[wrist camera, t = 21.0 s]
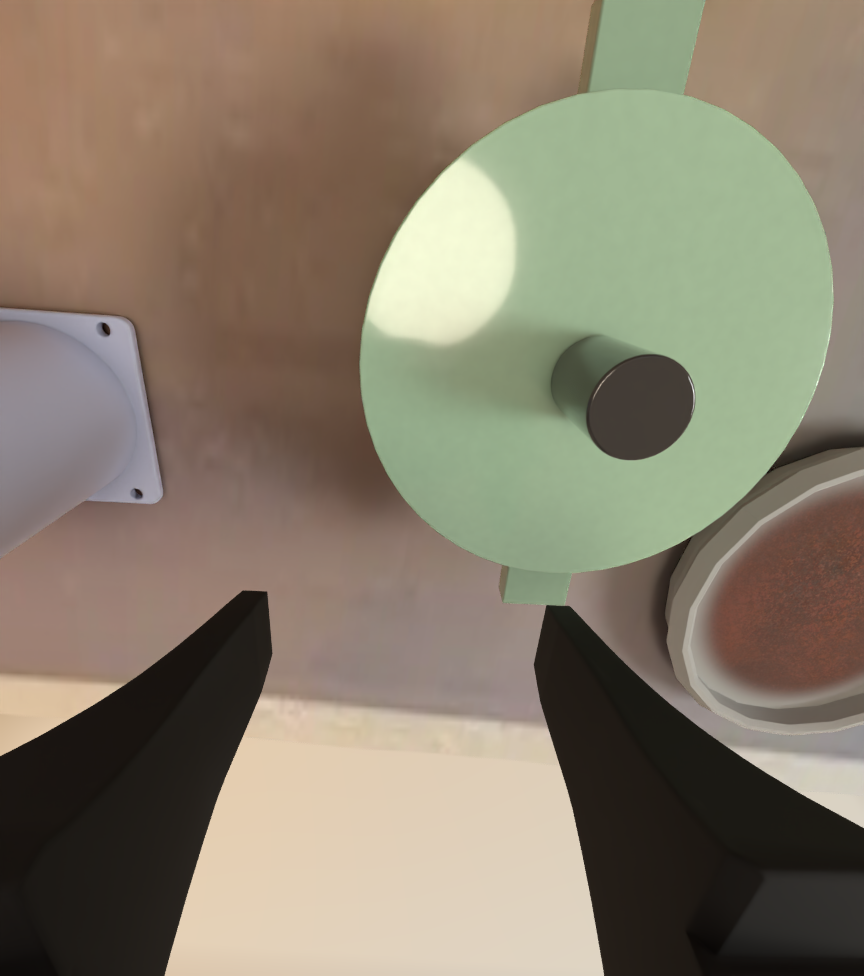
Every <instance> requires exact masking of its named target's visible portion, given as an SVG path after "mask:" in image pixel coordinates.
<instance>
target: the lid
mask: <svg viewBox="0 0 864 976" xmlns="http://www.w3.org/2000/svg"><path fill="white" fill-rule="evenodd" d="M833 303H834V297H833V275H832V265H831V259H830V254H829V249H828V244H827V238H826V234H825V232H824V229H823V226H822V223H821V220H820V217H819V215H818V212H817V209H816V206H815V204H814V202H813V200H812V198H811V197H810V195H809V193H808V191H807V189H806V187H805V186H804V184H803V182H802V180H801V178H800V176H799V175H798V174H797V172H796V171H795V170H794V169H793V167H792V166H791V165H790V164H789V162H788V161H787V160H786V159H785V157H784V156H783V155H782V154H781V152H780V151H779V150H778V149H777V148H776V147H775V146H774V145H773V144H772V143H770V142H769V141H768V140H767V139H766V138H765V137H764V136H763V135H761V134H760V133H759V132H758V131H757V130H756V129H755V128H753V127H752V126H750V125H749V124H747V123H746V122H744V121H742V120H741V119H739V118H737V117H736V116H734V115H732V114H731V113H729V112H727V111H726V110H724V109H722V108H720V107H717V106H714V105H712V104H709V103H707V102H704V101H701V100H699V99H696V98H694V97H691V96H687V95H682V94H677V93H672V92H666V91H661V90H656V89H628V88H614V89H607V90H601V91H594V92H587V93H580V94H576V95H572V96H569V97H566V98H563V99H559V100H556V101H553V102H550V103H546V104H543V105H540V106H538V107H536V108H534V109H532V110H530V111H528V112H526V113H523V114H521V115H519V116H517V117H515V118H513V119H511V120H509V121H507V122H505V123H503V124H502V125H500V126H499V127H497V128H496V129H494V130H493V131H491V132H490V133H488V134H487V135H485V136H484V137H482V138H481V139H479V140H478V141H476V142H475V143H473V144H472V145H471V146H470V147H468V148H467V149H466V150H465V151H464V152H463V153H462V154H461V155H459V156H458V157H457V158H456V159H455V160H454V161H453V162H451V163H450V164H449V165H448V166H447V167H446V168H445V169H444V170H442V172H441V173H440V174H439V175H438V176H437V177H436V178H435V180H434V181H433V182H432V183H431V184H430V185H429V187H428V188H427V189H426V190H425V191H424V192H423V193H422V195H421V196H420V197H419V198H418V199H417V201H416V202H415V204H414V205H413V207H412V208H411V210H410V211H409V213H408V214H407V216H406V217H405V219H404V220H403V222H402V223H401V225H400V226H399V228H398V229H397V231H396V233H395V235H394V237H393V239H392V241H391V243H390V245H389V247H388V249H387V251H386V253H385V255H384V257H383V259H382V261H381V263H380V265H379V268H378V271H377V274H376V277H375V280H374V283H373V286H372V289H371V292H370V294H369V297H368V302H367V307H366V312H365V316H364V321H363V326H362V331H361V345H360V358H359V371H360V389H361V398H362V403H363V409H364V414H365V419H366V424H367V427H368V430H369V433H370V436H371V439H372V442H373V445H374V448H375V451H376V453H377V455H378V457H379V459H380V461H381V463H382V465H383V467H384V469H385V471H386V473H387V475H388V477H389V478H390V480H391V481H392V483H393V484H394V486H395V487H396V489H397V490H398V492H399V493H400V495H401V496H402V498H403V499H404V500H405V501H406V502H407V503H408V504H409V506H410V507H411V508H412V509H413V510H414V511H415V512H416V514H417V515H418V516H419V517H420V518H422V519H423V520H424V521H425V522H426V523H427V524H428V525H430V526H431V527H432V528H433V529H434V530H435V531H436V532H438V533H439V534H441V535H442V536H444V537H445V538H447V539H448V540H450V541H451V542H453V543H454V544H456V545H457V546H459V547H461V548H463V549H465V550H467V551H469V552H471V553H473V554H475V555H477V556H479V557H481V558H484V559H487V560H490V561H492V562H495V563H498V564H501V565H504V566H509V567H513V568H518V569H522V570H527V571H536V572H546V573H580V572H589V571H597V570H604V569H608V568H613V567H617V566H622V565H626V564H629V563H632V562H635V561H638V560H641V559H644V558H647V557H650V556H653V555H655V554H657V553H660V552H662V551H664V550H666V549H668V548H671V547H673V546H675V545H677V544H679V543H681V542H682V541H684V540H686V539H688V538H689V537H691V536H693V535H695V534H696V533H698V532H700V531H701V530H703V529H704V528H706V527H707V526H708V525H710V524H711V523H713V522H714V521H715V520H717V519H718V518H720V517H721V516H722V515H724V514H725V513H726V512H727V511H728V510H729V509H731V508H732V507H733V506H734V505H735V504H736V503H737V502H739V501H740V500H741V499H742V498H743V497H744V496H745V495H746V494H747V493H748V492H749V491H750V490H751V489H752V488H753V487H754V486H755V485H756V484H757V483H758V482H759V481H760V479H761V478H762V477H763V476H764V475H765V474H766V473H767V472H768V470H769V469H770V468H771V466H772V465H773V464H774V462H775V461H776V460H777V458H778V457H779V456H780V455H781V453H782V452H783V451H784V449H785V448H786V446H787V444H788V443H789V441H790V439H791V438H792V436H793V434H794V433H795V431H796V430H797V428H798V426H799V425H800V423H801V421H802V419H803V417H804V414H805V412H806V410H807V408H808V406H809V404H810V402H811V400H812V398H813V395H814V393H815V390H816V387H817V384H818V381H819V378H820V375H821V372H822V369H823V366H824V363H825V358H826V353H827V349H828V344H829V340H830V335H831V326H832V314H833Z"/></svg>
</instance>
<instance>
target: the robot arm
mask: <svg viewBox="0 0 864 976" xmlns="http://www.w3.org/2000/svg"><path fill="white" fill-rule="evenodd" d="M103 323H106V324H107V325H108V326H109V328H110V335H108V334H106V333H105V332H104V331H103V328H102V324H103ZM135 488H136V489H139V490H140V491H141V492H142V494H143V495H139V494H138V493H136V491H135ZM162 497H163V487H162V482H161V476H160V470H159V465H158V459H157V453H156V447H155V442H154V436H153V430H152V425H151V419H150V413H149V408H148V402H147V396H146V390H145V385H144V379H143V373H142V368H141V362H140V356H139V350H138V345H137V339H136V333H135V329H134V326H133V324H132V323H131V322H130V321H129V320H128V319H126V318H125V317H121V316H113V315H99V314H86V313H72V312H58V311H45V310H31V309H17V308H4V307H0V559H1V558H2V557H3V556H5V555H6V554H8V553H9V552H11V551H12V550H14V549H15V548H17V547H18V546H19V545H21V544H22V543H24V542H25V541H27V540H28V539H30V538H31V537H32V536H34V535H35V534H37V533H38V532H40V531H41V530H43V529H44V528H45V527H47V526H48V525H50V524H51V523H53V522H54V521H56V520H57V519H58V518H60V517H61V516H63V515H64V514H66V513H67V512H69V511H70V510H71V509H73V508H74V507H76V506H77V505H79V504H80V503H82V502H83V501H102V502H121V503H140V504H155V503H156V502H158V501H159V500H160V499H161V498H162ZM271 657H272V643H271V631H270V619H269V607H268V596H267V592H264V591H242V592H241V593H239V594H238V595H237V596H236V597H235V598H233V599H232V600H231V601H230V602H229V603H228V604H226V605H225V606H224V607H223V608H222V609H221V610H220V611H218V612H217V613H216V614H215V615H214V616H213V617H211V618H210V619H209V620H208V621H207V622H206V623H205V624H203V625H202V626H201V627H200V628H199V629H197V630H196V631H195V632H194V633H193V634H191V635H190V636H189V637H188V638H187V639H185V640H184V641H183V642H182V643H181V644H179V645H178V646H177V647H176V648H174V649H173V650H172V651H170V652H169V653H168V654H167V655H165V656H164V657H163V658H161V659H160V660H159V661H157V662H156V663H155V664H153V665H152V666H151V667H150V668H148V669H147V670H146V671H144V672H143V673H141V674H140V675H139V676H137V677H136V678H134V679H133V680H131V681H130V682H128V683H127V684H126V685H124V686H123V687H121V688H119V689H118V690H116V691H115V692H113V693H112V694H110V695H109V696H107V697H106V698H104V699H103V700H101V701H99V702H98V703H96V704H95V705H93V706H91V707H90V708H88V709H86V710H84V711H83V712H81V713H79V714H77V715H76V716H74V717H72V718H70V719H69V720H67V721H65V722H63V723H62V724H60V725H58V726H57V727H55V728H53V729H51V730H50V731H48V732H46V733H44V734H43V735H41V736H39V737H37V738H35V739H33V740H31V741H29V742H27V743H25V744H23V745H21V746H19V747H18V748H16V749H14V750H12V751H10V752H8V753H6V754H4V755H2V756H0V976H164V975H165V971H166V967H167V964H168V960H169V956H170V953H171V949H172V946H173V942H174V938H175V935H176V932H177V928H178V925H179V921H180V918H181V914H182V911H183V907H184V904H185V900H186V897H187V893H188V890H189V887H190V883H191V880H192V877H193V874H194V870H195V867H196V864H197V860H198V857H199V854H200V851H201V847H202V844H203V841H204V838H205V835H206V832H207V829H208V825H209V822H210V819H211V816H212V813H213V810H214V806H215V804H216V801H217V798H218V795H219V792H220V790H221V787H222V785H223V782H224V779H225V777H226V775H227V772H228V770H229V768H230V765H231V763H232V761H233V758H234V756H235V753H236V751H237V749H238V747H239V744H240V742H241V739H242V737H243V735H244V732H245V730H246V728H247V725H248V723H249V721H250V718H251V716H252V713H253V711H254V709H255V706H256V704H257V702H258V699H259V697H260V694H261V692H262V688H263V685H264V682H265V678H266V675H267V671H268V668H269V664H270V660H271ZM534 668H535V674H536V680H537V686H538V691H539V697H540V702H541V705H542V709H543V712H544V715H545V719H546V722H547V725H548V729H549V732H550V735H551V738H552V742H553V745H554V748H555V751H556V754H557V758H558V761H559V764H560V767H561V770H562V773H563V777H564V780H565V783H566V786H567V790H568V793H569V797H570V801H571V804H572V808H573V813H574V817H575V822H576V827H577V831H578V836H579V841H580V846H581V850H582V855H583V860H584V865H585V871H586V876H587V881H588V886H589V891H590V896H591V901H592V907H593V912H594V918H595V924H596V929H597V935H598V941H599V947H600V953H601V958H602V964H603V970H604V976H864V828H862V827H860V826H859V825H857V824H855V823H853V822H851V821H849V820H848V819H846V818H844V817H842V816H840V815H838V814H837V813H835V812H833V811H831V810H829V809H827V808H825V807H824V806H822V805H820V804H818V803H816V802H814V801H812V800H811V799H809V798H807V797H805V796H804V795H802V794H800V793H798V792H797V791H795V790H793V789H792V788H790V787H788V786H787V785H785V784H783V783H782V782H780V781H779V780H777V779H775V778H774V777H772V776H770V775H769V774H767V773H765V772H764V771H762V770H761V769H759V768H758V767H756V766H754V765H753V764H751V763H750V762H748V761H747V760H745V759H744V758H742V757H741V756H739V755H738V754H736V753H735V752H733V751H732V750H731V749H729V748H728V747H726V746H725V745H723V744H722V743H720V742H719V741H718V740H716V739H715V738H713V737H712V736H711V735H709V734H708V733H706V732H705V731H704V730H702V729H701V728H700V727H698V726H697V725H696V724H694V723H693V722H692V721H691V720H689V719H688V718H687V717H686V716H684V715H683V714H682V713H681V712H679V711H678V710H677V709H676V708H674V707H673V706H672V705H671V704H669V703H668V702H667V701H666V700H665V699H663V698H662V697H661V696H660V695H659V694H658V693H657V692H655V691H654V690H653V689H652V688H651V687H650V686H649V685H648V684H647V683H645V682H644V681H643V680H642V679H641V678H640V677H639V676H638V675H637V674H636V673H635V672H634V671H632V670H631V669H630V668H629V667H628V666H627V665H626V664H625V663H624V662H623V661H622V660H621V659H620V658H619V657H618V656H617V655H616V654H615V653H614V652H613V651H612V650H611V649H610V648H609V647H608V646H607V645H606V644H605V643H604V642H603V641H602V640H601V638H600V637H599V636H598V635H597V634H596V633H595V632H594V631H593V630H592V629H591V628H590V627H589V626H588V625H587V624H586V623H585V622H584V621H583V619H582V618H581V617H580V616H579V615H578V614H577V613H576V612H575V611H574V610H573V609H572V608H571V607H570V606H556V605H546V610H545V615H544V620H543V624H542V629H541V634H540V638H539V643H538V648H537V652H536V657H535V662H534Z"/></svg>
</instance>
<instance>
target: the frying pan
mask: <svg viewBox="0 0 864 976" xmlns="http://www.w3.org/2000/svg"><path fill="white" fill-rule="evenodd" d="M665 617H666V621H667V624H668V628H669V629H668V635H667V641H666V642H667V646H668V650H669V653H670V657H671V661H672V665H673V669H674V672H675V676H676V678H677V679H678V681H679V682H680V683H681V684H682V685H683V686H684V687H685V689H686V690H687V691H688V692H689V693H690V694H691V696H692V697H693V698H694V699H695V700H696V701H697V702H698V704H699V705H701V706H703V707H704V708H706V709H708V710H710V711H712V712H713V713H716V714H718V715H720V716H722V717H724V718H726V719H728V720H730V721H732V722H734V723H736V724H738V725H740V726H742V727H744V728H746V729H749V730H756V731H762V732H769V733H775V734H781V735H788V736H790V735H803V734H815V733H828V732H837V731H840V730H844V729H848V728H851V727H855V726H858V725H862V724H864V447H854V448H842V449H830V450H827V451H824V452H821V453H818V454H816V455H813V456H810V457H807V458H804V459H802V460H799V461H796V462H793V463H790V464H787V465H785V466H782V467H779V468H776V469H774V470H773V471H771V472H770V473H768V474H767V475H765V476H764V477H762V478H761V479H760V481H759V482H758V483H757V484H756V485H755V486H754V487H753V488H752V489H751V490H750V491H749V492H748V493H747V494H746V495H745V496H744V497H743V498H742V499H741V500H740V501H739V502H737V503H736V504H735V505H734V506H733V507H732V508H731V509H729V510H728V511H727V512H726V513H725V514H724V515H722V516H721V517H720V518H718V519H717V520H715V521H714V522H713V523H711V524H710V525H708V526H707V527H706V528H704V529H703V530H701V531H700V532H698V533H696V534H695V535H694V536H693V537H692V538H691V540H690V542H689V544H688V546H687V548H686V549H685V551H684V553H683V555H682V557H681V559H680V561H679V563H678V564H677V566H676V568H675V570H674V572H673V574H672V576H671V579H670V585H669V591H668V598H667V604H666V610H665Z"/></svg>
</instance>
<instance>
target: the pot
mask: <svg viewBox="0 0 864 976" xmlns="http://www.w3.org/2000/svg"><path fill="white" fill-rule="evenodd" d="M704 4H705V0H595V1H594V3H593V4H592V6H591V13H590V19H589V25H588V31H587V38H586V44H585V50H584V57H583V63H582V69H581V75H580V82H579V88H578V94H580V93H587V92H594V91H601V90H607V89H614V88H628V89H656V90H661V91H666V92H672V93H677V94H682V95H683V94H684V90H685V85H686V81H687V77H688V73H689V68H690V64H691V60H692V55H693V51H694V47H695V43H696V38H697V34H698V30H699V25H700V21H701V17H702V12H703V8H704ZM571 575H572V573H546V572H536V571H527V570H522V569H518V568H513V567H509V566H504V565H502V570H501V576H500V582H499V590H500V594H501V598H502V602H503V603H514V604H537V605H560V606H564V605H565V601H566V596H567V592H568V588H569V584H570V579H571Z"/></svg>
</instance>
